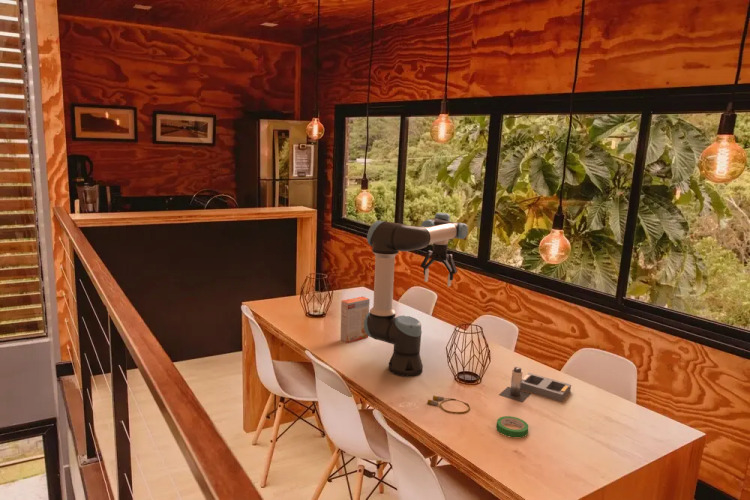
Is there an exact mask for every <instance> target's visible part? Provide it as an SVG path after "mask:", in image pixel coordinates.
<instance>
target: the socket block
mask: <svg viewBox="0 0 750 500" xmlns="http://www.w3.org/2000/svg"><path fill="white" fill-rule="evenodd" d="M571 389H572V384H571V383H566V382H563V381H559V380H557V379H552V378H549V377H545V376H543V375H542V376H541V375H538V374H534V373H531V372H528V373H527V374H526V375H524V377H522V382H521V391H524V392H527V393H531V394H535V395H538V396H541V397H545V398H547V399H551V400H554V401H557V402H560V403H561V402H563V400H565V398H566V397H567V396H568V395H570V394H569V393H570V392H571Z"/></svg>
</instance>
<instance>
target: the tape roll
mask: <svg viewBox="0 0 750 500" xmlns="http://www.w3.org/2000/svg"><path fill="white" fill-rule="evenodd" d="M504 424H505V425H504ZM512 424H514V425H513V426H516V425H517V427H518V428H515V429H514V428H510V427H507V426H506V425H512ZM520 427H521V428H520ZM495 428H497V429H496V431H497V432H498V431H499V433H500V434H501V433H502V434H501V435H503V434H504V435H503V436H505V435H506V436H505V437H508V436H510V437H509V438H513V437H521V438H524V437H526V436H527V435H528V433H529V424H528V423H527V422H526V421H525V420H523V419H521V418H519V417H515V416H510V415H508V416H501V417H498V418H497V420H496V427H495ZM525 435H526V436H525ZM523 436H524V437H523Z"/></svg>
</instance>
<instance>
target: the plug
mask: <svg viewBox="0 0 750 500" xmlns="http://www.w3.org/2000/svg"><path fill="white" fill-rule="evenodd" d="M522 378H523V370H522V368H521V367H519V366H514V367H513V369H512V372H511V380H510V381H511V382H510V387H511V389H510V395H512V396H516V397H518V396H520V391H522V390H521V382H522Z"/></svg>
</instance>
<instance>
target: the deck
mask: <svg viewBox="0 0 750 500" xmlns="http://www.w3.org/2000/svg"><path fill="white" fill-rule="evenodd" d="M510 389H511V386H507V387H506V388H505V389H503V390H502V391H501V392H500V393H499V394H498V396H500V397H504V398H506V399H510V400H513V401H517V402H519V403H524V401H526V400H527V399H528V397H530V396H531V395H532V393H531V392H527V391H524V390H521V391H520V396H518V397H516V396H512V395H510Z"/></svg>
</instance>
